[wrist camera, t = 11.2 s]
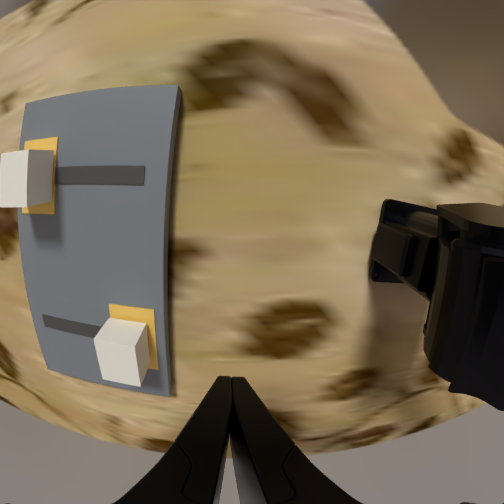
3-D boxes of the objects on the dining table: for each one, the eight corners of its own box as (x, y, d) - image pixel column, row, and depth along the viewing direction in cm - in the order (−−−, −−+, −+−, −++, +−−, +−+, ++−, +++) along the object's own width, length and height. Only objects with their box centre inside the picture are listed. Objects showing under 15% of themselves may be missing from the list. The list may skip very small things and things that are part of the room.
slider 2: (146, 323, 19) (134, 346, 16) (150, 361, 20) (140, 386, 17) (109, 317, 18) (93, 339, 15) (115, 355, 19) (102, 379, 16)
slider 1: (53, 150, 15) (28, 149, 12) (51, 201, 16) (26, 207, 13) (26, 153, 14) (1, 153, 12) (24, 201, 15) (-1, 207, 12)
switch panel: (181, 91, 16) (177, 84, 15) (172, 385, 23) (169, 397, 21) (36, 106, 15) (25, 103, 13) (54, 360, 21) (47, 369, 20)
